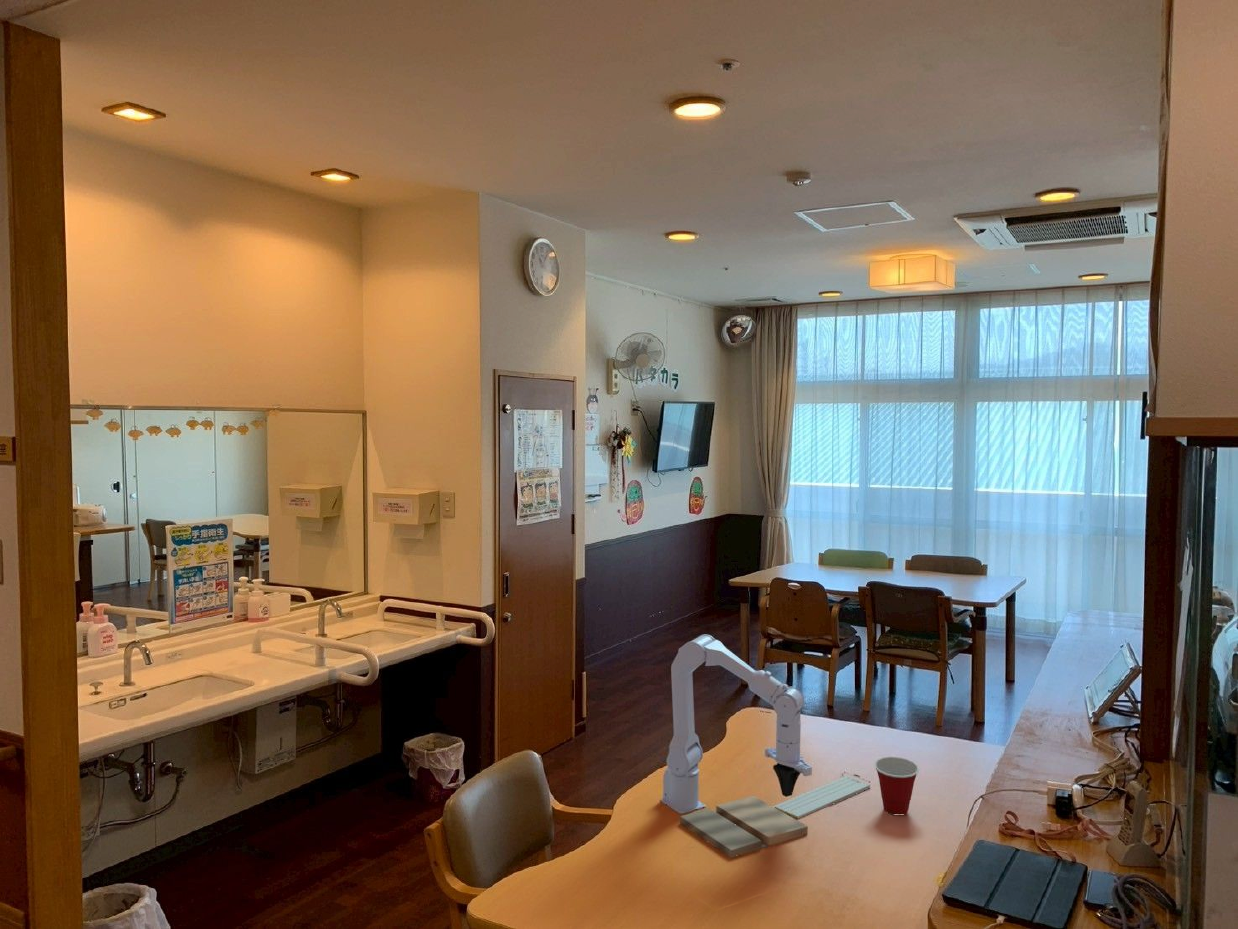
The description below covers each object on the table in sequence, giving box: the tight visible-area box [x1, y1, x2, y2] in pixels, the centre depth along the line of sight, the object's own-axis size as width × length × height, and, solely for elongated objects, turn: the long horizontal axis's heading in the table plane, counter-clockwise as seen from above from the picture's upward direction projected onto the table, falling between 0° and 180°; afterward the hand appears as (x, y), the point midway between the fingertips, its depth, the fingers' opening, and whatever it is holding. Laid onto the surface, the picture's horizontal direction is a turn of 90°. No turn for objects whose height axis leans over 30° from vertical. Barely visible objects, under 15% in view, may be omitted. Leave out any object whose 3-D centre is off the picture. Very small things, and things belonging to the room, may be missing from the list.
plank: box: [715, 795, 809, 846], centre depth 221 cm, size 20×12×2 cm, turn 31°
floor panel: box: [679, 808, 768, 859], centre depth 214 cm, size 20×10×2 cm, turn 31°
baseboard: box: [772, 771, 871, 820], centre depth 236 cm, size 30×3×10 cm
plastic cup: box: [874, 756, 920, 815], centre depth 228 cm, size 11×11×12 cm
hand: (787, 795), depth 217 cm, fingers closed
